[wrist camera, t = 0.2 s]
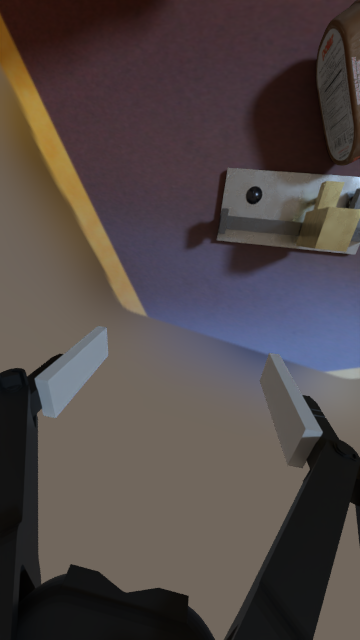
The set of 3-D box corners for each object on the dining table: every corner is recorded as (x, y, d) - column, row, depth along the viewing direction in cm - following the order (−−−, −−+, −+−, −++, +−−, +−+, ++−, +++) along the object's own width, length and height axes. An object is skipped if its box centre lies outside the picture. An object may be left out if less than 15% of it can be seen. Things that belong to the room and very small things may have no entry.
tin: (348, 164, 32) (392, 143, 24) (326, 175, 32) (361, 158, 25) (331, 40, 27) (378, -36, 19) (305, 57, 28) (341, -10, 20)
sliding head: (308, 186, 32) (341, 170, 24) (335, 188, 32) (378, 172, 24) (291, 244, 36) (314, 248, 28) (314, 247, 35) (346, 251, 27)
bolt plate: (227, 169, 34) (227, 167, 33) (382, 180, 32) (387, 178, 31) (216, 240, 38) (216, 240, 37) (351, 253, 36) (355, 254, 35)
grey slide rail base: (225, 180, 34) (228, 172, 29) (381, 192, 31) (408, 185, 27) (217, 233, 37) (218, 233, 33) (358, 247, 35) (378, 249, 31)
